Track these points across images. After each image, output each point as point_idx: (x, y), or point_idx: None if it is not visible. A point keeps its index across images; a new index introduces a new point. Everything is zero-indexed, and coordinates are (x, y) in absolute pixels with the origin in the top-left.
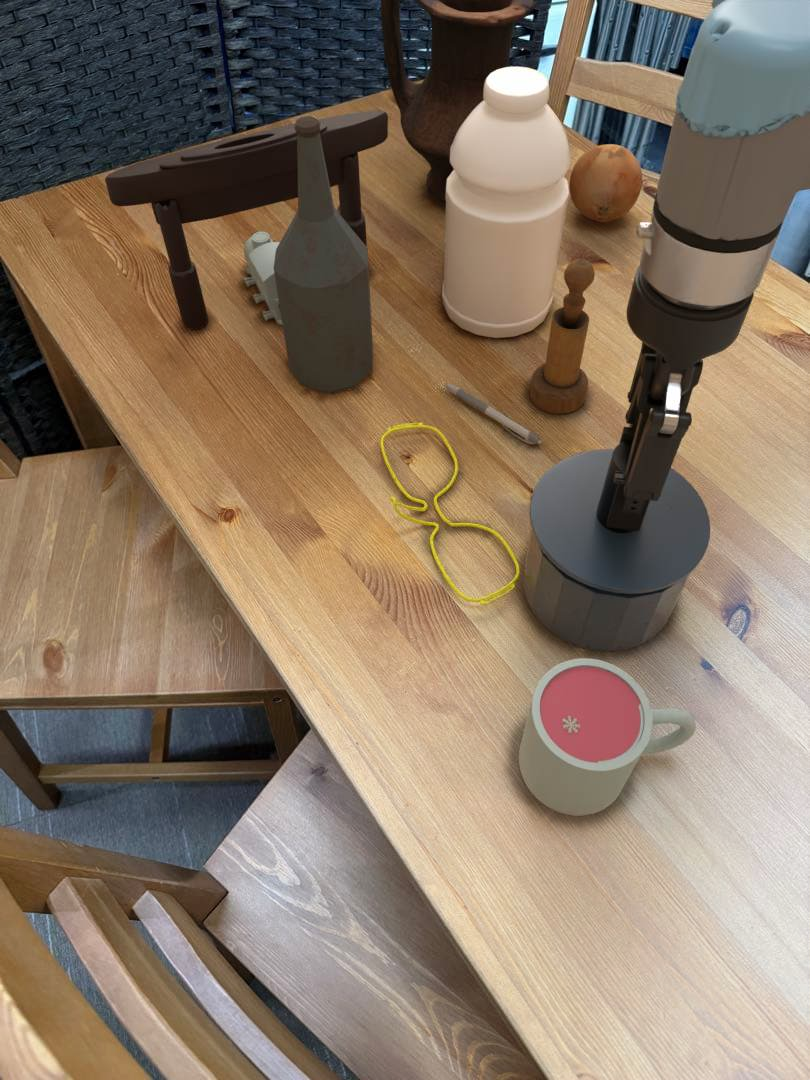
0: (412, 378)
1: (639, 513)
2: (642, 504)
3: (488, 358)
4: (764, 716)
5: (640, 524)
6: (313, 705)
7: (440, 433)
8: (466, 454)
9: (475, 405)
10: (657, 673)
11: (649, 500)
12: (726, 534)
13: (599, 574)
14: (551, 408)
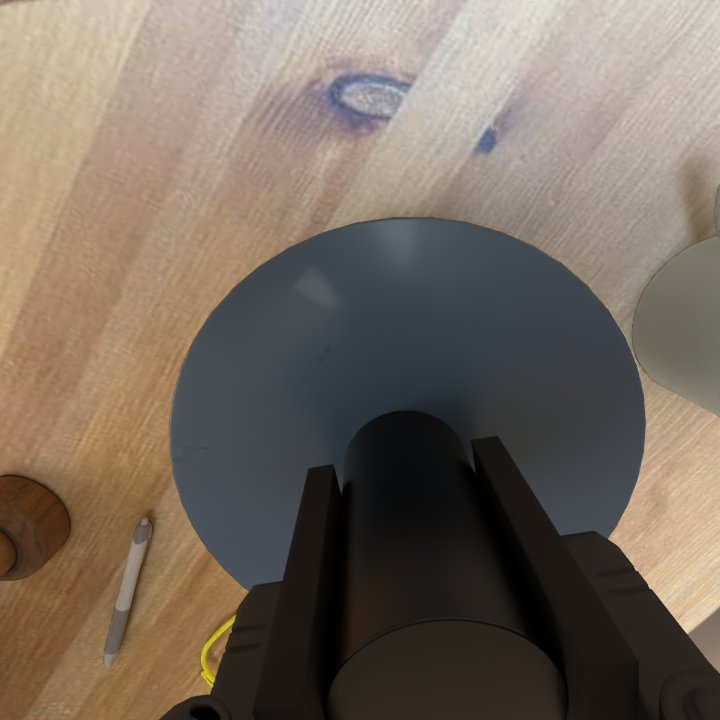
0: (118, 695)
1: (604, 539)
2: (649, 591)
3: (12, 623)
4: (567, 3)
5: (507, 454)
6: (684, 629)
7: (207, 647)
8: (220, 596)
9: (124, 623)
10: (527, 224)
11: (561, 539)
12: (174, 159)
13: (609, 467)
14: (60, 523)
